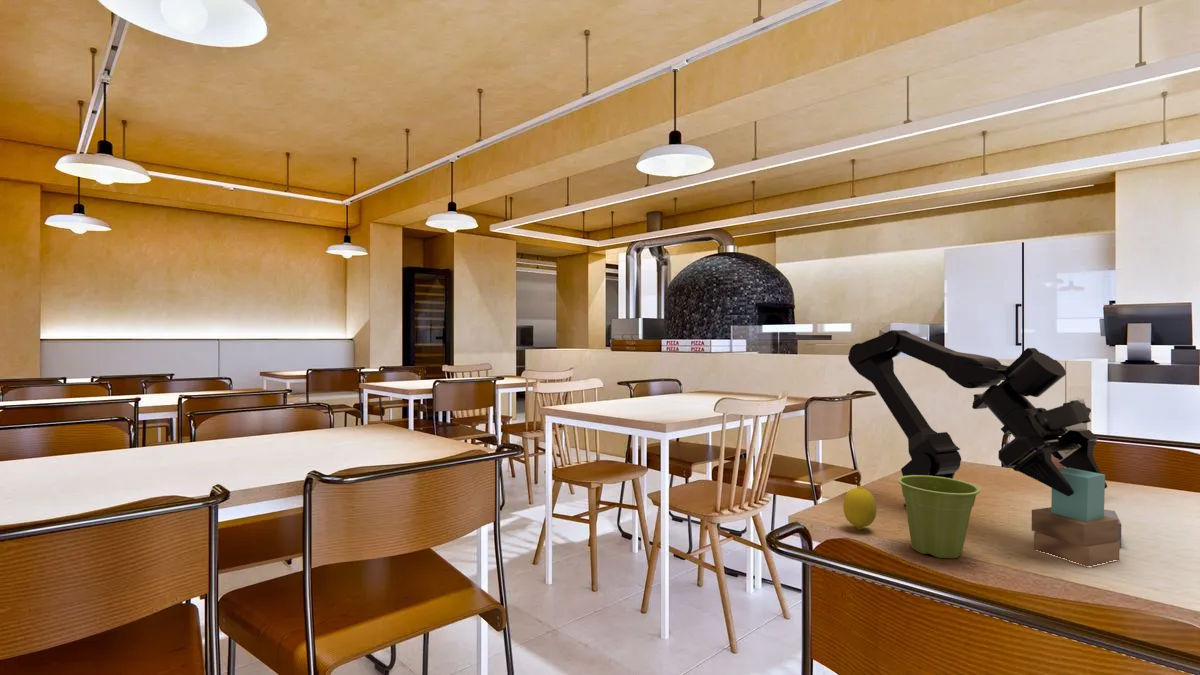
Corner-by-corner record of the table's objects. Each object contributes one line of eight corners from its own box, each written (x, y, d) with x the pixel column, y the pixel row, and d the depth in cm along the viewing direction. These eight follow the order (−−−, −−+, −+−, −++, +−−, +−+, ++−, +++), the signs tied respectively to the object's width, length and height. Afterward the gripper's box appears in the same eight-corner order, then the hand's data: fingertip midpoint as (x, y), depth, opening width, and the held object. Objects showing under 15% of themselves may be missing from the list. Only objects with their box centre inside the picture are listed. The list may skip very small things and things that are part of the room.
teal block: (1051, 512, 98) (1052, 470, 97) (1068, 509, 100) (1069, 467, 100) (1086, 522, 93) (1088, 477, 93) (1103, 517, 95) (1105, 474, 95)
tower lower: (1033, 553, 99) (1034, 532, 99) (1063, 546, 102) (1063, 526, 102) (1089, 571, 91) (1089, 548, 91) (1119, 563, 94) (1119, 541, 94)
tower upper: (1031, 530, 100) (1031, 509, 99) (1064, 525, 102) (1065, 505, 102) (1083, 547, 92) (1083, 524, 92) (1118, 541, 94) (1118, 519, 94)
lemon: (874, 526, 110) (874, 483, 110) (877, 536, 105) (878, 491, 105) (842, 523, 112) (842, 481, 112) (844, 532, 107) (844, 488, 107)
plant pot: (946, 570, 90) (946, 496, 90) (881, 544, 101) (881, 478, 101) (996, 558, 95) (997, 488, 95) (929, 535, 106) (930, 472, 106)
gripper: (1018, 386, 96) (1097, 469, 86) (1085, 382, 103) (1165, 458, 93) (969, 427, 103) (1038, 508, 93) (1035, 421, 111) (1105, 495, 101)
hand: (1088, 491), depth 95 cm, fingers open, 9 cm apart
